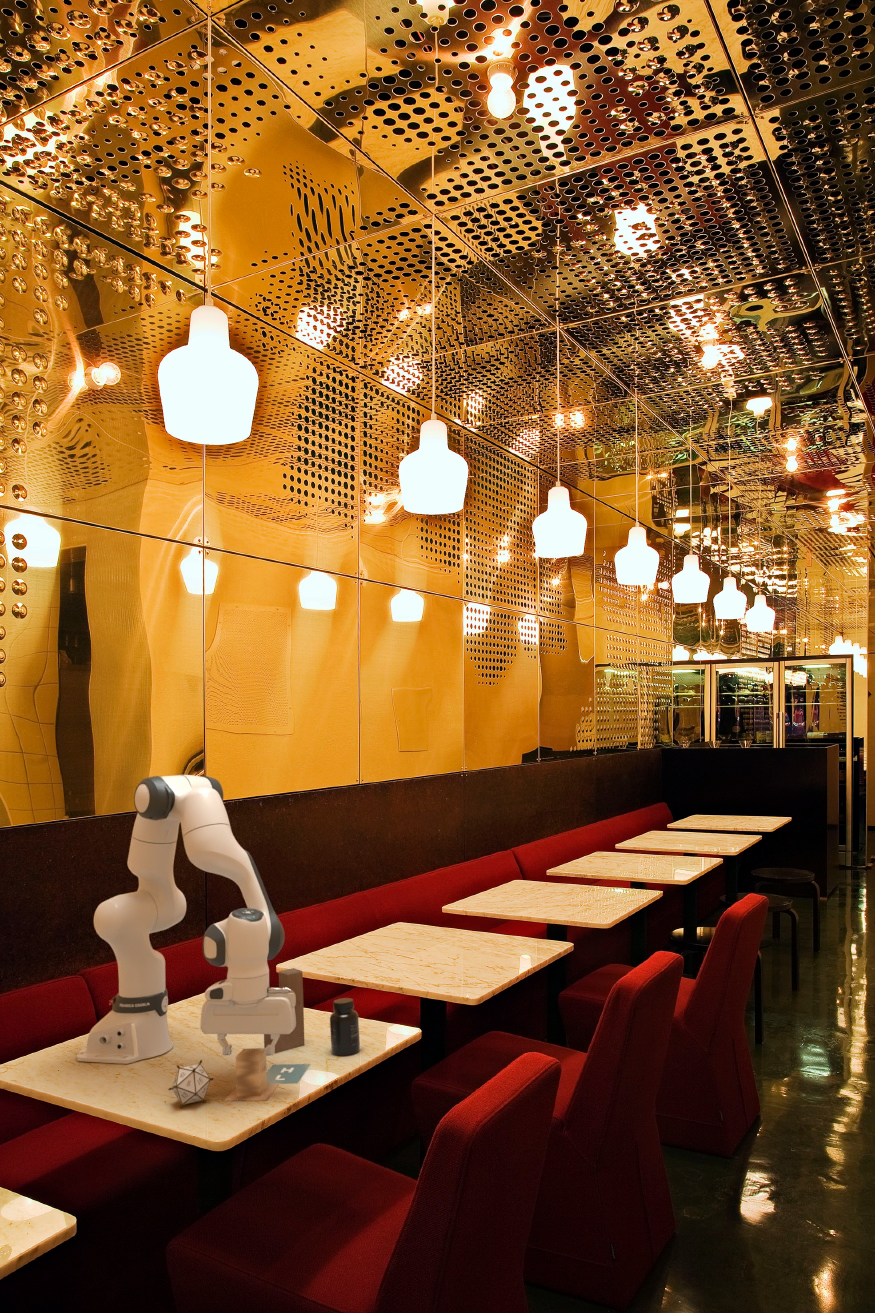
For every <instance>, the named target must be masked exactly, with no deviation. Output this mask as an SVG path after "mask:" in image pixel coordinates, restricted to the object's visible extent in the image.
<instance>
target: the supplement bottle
mask: <svg viewBox="0 0 875 1313" xmlns="http://www.w3.org/2000/svg"><path fill="white" fill-rule="evenodd" d="M332 1003H333V1009H332V1010H333V1012H332V1013H331V1014H330V1017H329V1028H330V1029H329V1030H330V1047H331V1048H330V1050H331V1053H332V1055H333V1056H336V1057H349V1056H353V1055H357V1054H358V1053H359V1052H360V1051H361V1047H360V1046H361V1045H360V1044H361V1041H360V1025H359V1024H360V1023H359V1022H360V1021H359V1013H358V1012H357V1011H356V1010H355V1009H354V1008H355V1005H354V999H353V998H349V997H343V998H338V999H335V1000H333V1002H332Z"/></svg>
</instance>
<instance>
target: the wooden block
mask: <svg viewBox="0 0 875 1313" xmlns="http://www.w3.org/2000/svg"><path fill="white" fill-rule="evenodd" d="M303 978H304V977H303V970H301V969H298V968H295V967H294V968H293V967H291V968H288V969H284V970H279V971H278V988H283V987H287V988H289V989H290V990H292V991H293V992H294V993H295V995H296V1005H295V1007H294V1008H295V1015H296V1027H295V1028H294V1030H293V1031H292V1032H291V1033H290V1034H280V1037H279V1039H278V1040H277V1042H276V1044H275V1053H274V1055H275V1054H278V1053H281V1052H282V1053H283V1052H285V1051H288V1050H293V1049H296V1048H300V1047H303V1046H305V1017H304V1016H305V1015H304V986H303V985H304V982H303ZM289 993H291V992H289ZM263 1038H264V1039H263V1044H264V1045H263V1046H264V1047H263V1048H266V1047H267V1045H271V1043H272V1041H273V1039H271V1034H263Z"/></svg>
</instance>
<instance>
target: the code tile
mask: <svg viewBox="0 0 875 1313" xmlns="http://www.w3.org/2000/svg"><path fill="white" fill-rule="evenodd" d="M310 1066H311V1063H291V1064H290V1063H289V1064H288V1063H287V1064H286V1063H285V1064H283V1063H282V1064H272V1065H271V1066H270V1067H269V1068H268V1070H267V1084H279V1085H281V1084H282V1085H285V1084H287V1085H288V1084H289V1085H290V1084H292V1085H293V1084H299V1082H300V1081H301V1079H302V1078H303V1076H304V1075H305V1073H306V1072H307V1071H308V1069H309V1068H310Z"/></svg>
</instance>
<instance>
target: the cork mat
mask: <svg viewBox="0 0 875 1313" xmlns="http://www.w3.org/2000/svg"><path fill="white" fill-rule="evenodd" d="M278 1086H280V1084H267V1088H266V1089H265V1090H264V1092H263V1093H262V1094H261V1096H237V1086H236V1087H235V1088H234V1089H233V1090H232V1091H231V1092H230V1093H229V1095H228V1096H227V1097H226V1098H225V1099H224V1102H225V1103H227V1102H267V1101H268V1100H269V1099H270V1097H271V1096H272V1095H273V1093H275V1091H276V1089H277V1088H278Z"/></svg>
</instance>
